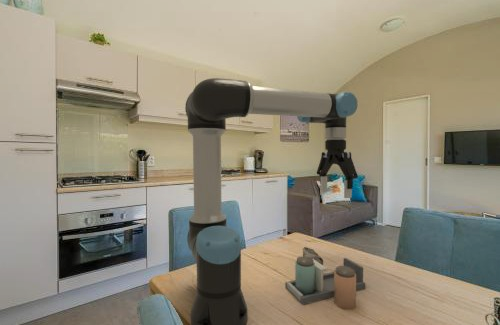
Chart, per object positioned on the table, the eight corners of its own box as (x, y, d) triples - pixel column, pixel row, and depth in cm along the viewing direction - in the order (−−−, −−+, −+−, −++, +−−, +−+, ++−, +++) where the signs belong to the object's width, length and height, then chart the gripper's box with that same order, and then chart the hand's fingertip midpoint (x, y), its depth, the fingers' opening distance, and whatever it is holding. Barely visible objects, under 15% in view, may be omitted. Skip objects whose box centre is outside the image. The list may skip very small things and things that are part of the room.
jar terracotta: (343, 311, 70) (344, 276, 70) (329, 299, 76) (329, 267, 76) (360, 306, 72) (360, 272, 72) (345, 295, 78) (345, 264, 78)
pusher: (320, 294, 77) (321, 269, 77) (307, 282, 84) (307, 260, 84) (327, 292, 78) (327, 268, 78) (313, 281, 85) (313, 259, 85)
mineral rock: (324, 273, 93) (325, 261, 93) (302, 271, 95) (302, 259, 94) (321, 257, 108) (321, 246, 107) (302, 255, 109) (302, 245, 109)
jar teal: (302, 298, 76) (302, 265, 75) (291, 288, 81) (291, 257, 81) (318, 293, 78) (318, 262, 78) (307, 284, 84) (307, 254, 83)
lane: (302, 304, 74) (302, 282, 73) (285, 287, 83) (285, 267, 83) (365, 288, 82) (365, 268, 82) (343, 274, 92) (343, 256, 91)
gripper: (369, 137, 86) (368, 199, 87) (323, 141, 109) (322, 190, 110) (352, 137, 83) (351, 201, 84) (308, 140, 106) (308, 191, 107)
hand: (335, 195), depth 97 cm, fingers open, 13 cm apart
